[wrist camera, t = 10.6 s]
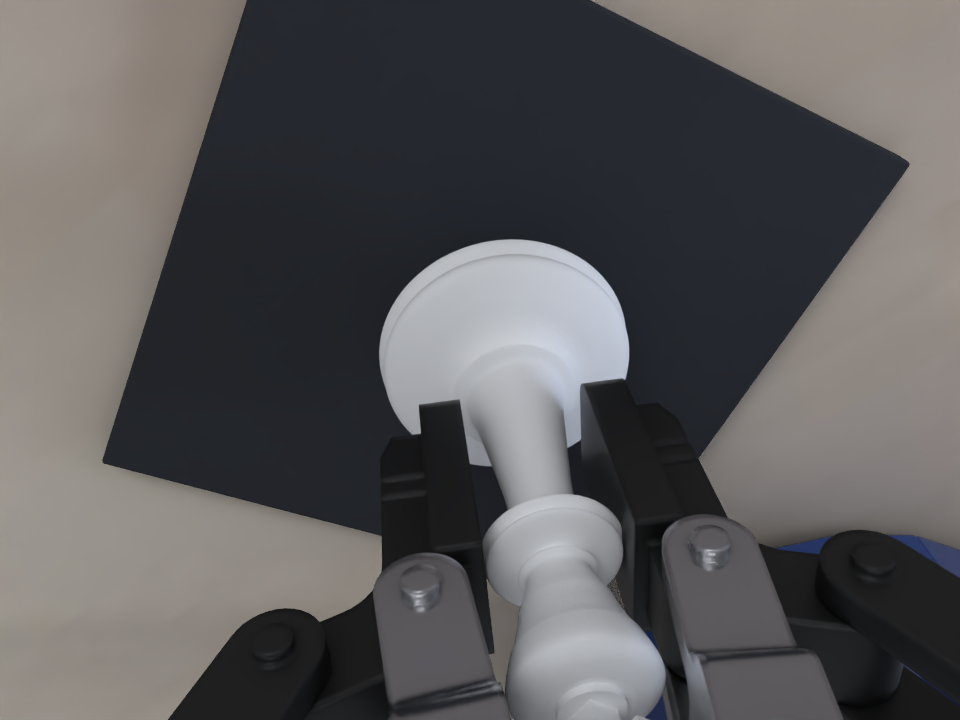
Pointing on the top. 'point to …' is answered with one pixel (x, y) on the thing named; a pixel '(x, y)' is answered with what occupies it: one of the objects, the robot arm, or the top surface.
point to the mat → (468, 228)
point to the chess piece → (531, 459)
